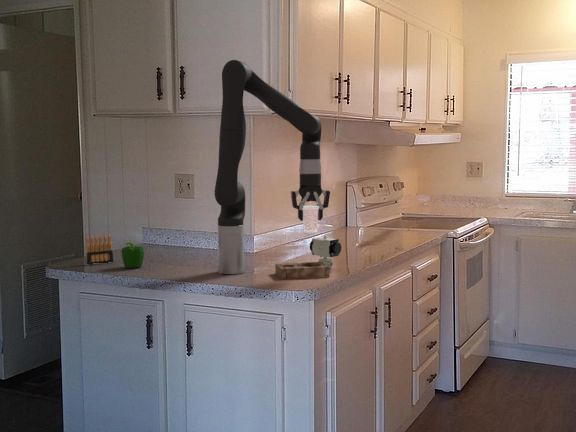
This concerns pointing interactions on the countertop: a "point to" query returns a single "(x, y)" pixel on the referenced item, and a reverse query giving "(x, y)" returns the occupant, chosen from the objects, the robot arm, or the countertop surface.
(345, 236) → the countertop surface
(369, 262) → the countertop surface
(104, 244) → the ammunition clip
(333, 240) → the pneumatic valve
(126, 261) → the bell pepper
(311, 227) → the beverage cup
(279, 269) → the socket block
